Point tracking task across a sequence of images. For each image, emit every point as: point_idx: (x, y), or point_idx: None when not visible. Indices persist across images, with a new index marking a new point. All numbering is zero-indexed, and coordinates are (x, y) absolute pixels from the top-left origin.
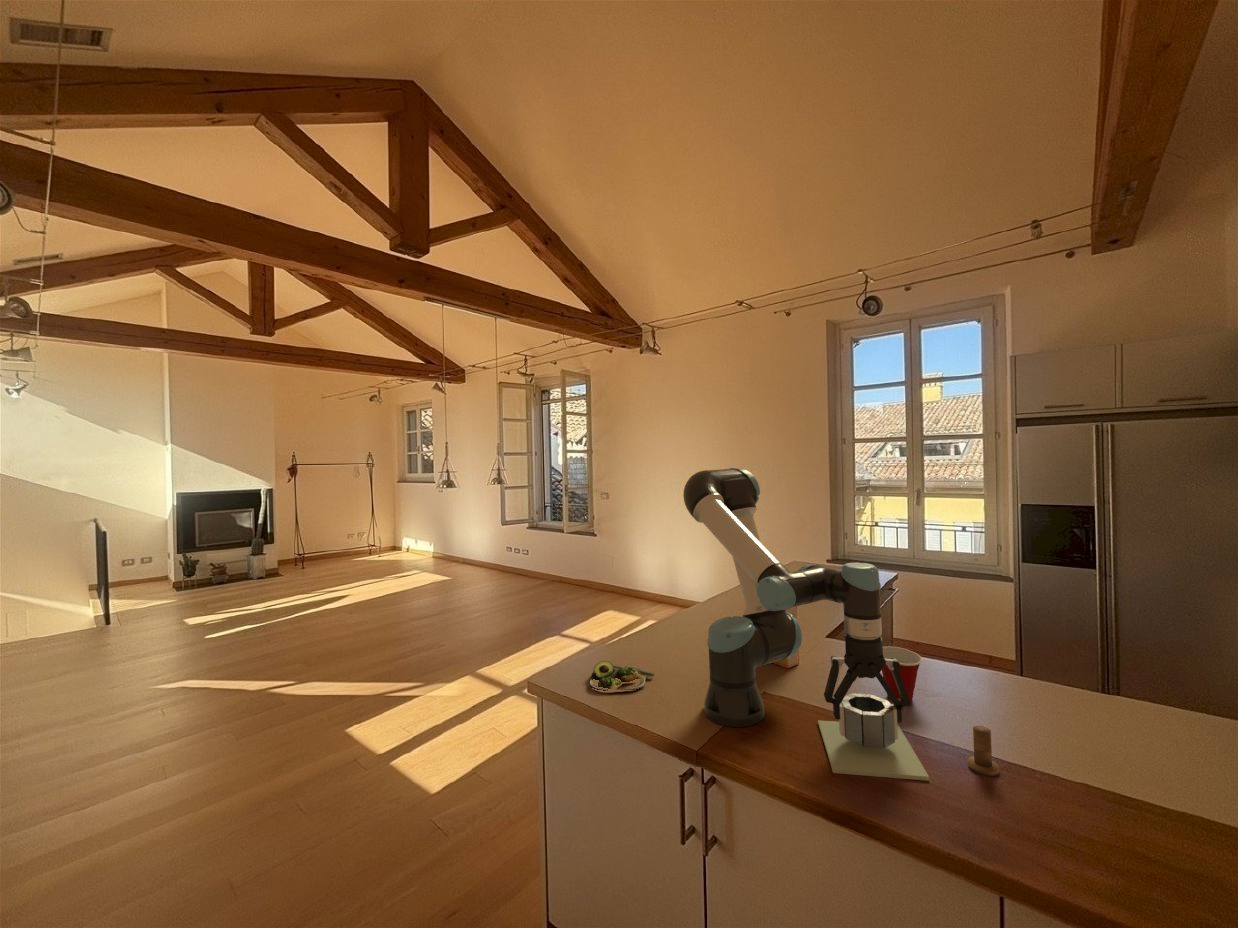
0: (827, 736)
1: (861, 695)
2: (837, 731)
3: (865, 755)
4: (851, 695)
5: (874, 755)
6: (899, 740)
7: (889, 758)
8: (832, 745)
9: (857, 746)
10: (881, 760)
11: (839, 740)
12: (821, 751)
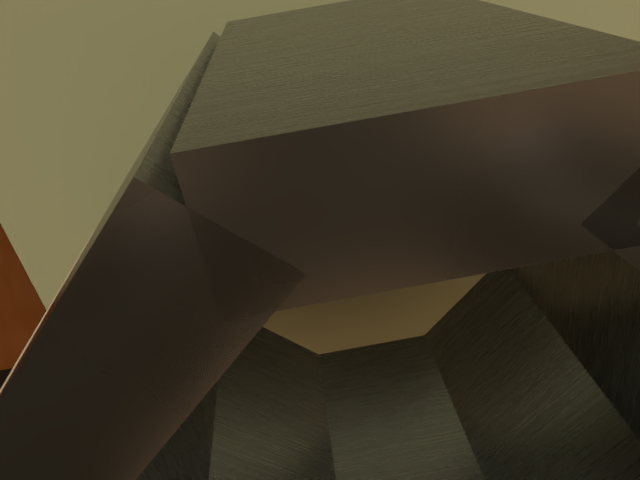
0: (5, 143)
1: (427, 214)
2: (71, 14)
3: (312, 313)
4: (161, 294)
5: (369, 294)
6: (615, 22)
7: (456, 296)
8: None
9: None
10: (402, 331)
11: (119, 180)
12: (23, 301)
